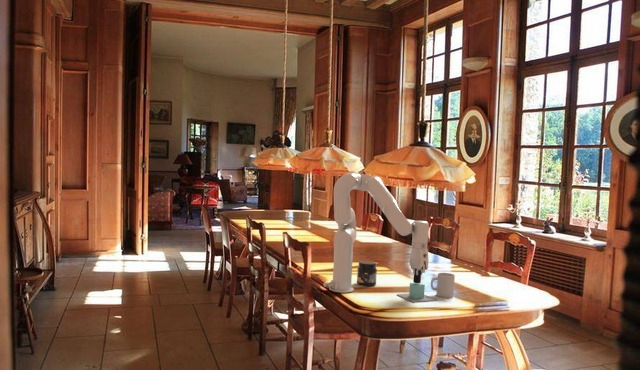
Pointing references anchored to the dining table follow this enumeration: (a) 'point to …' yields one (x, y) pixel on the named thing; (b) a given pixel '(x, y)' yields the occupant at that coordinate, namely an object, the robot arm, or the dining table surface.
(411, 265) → the robot arm
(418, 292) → the teal rectangular block
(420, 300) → the grey plate with knob
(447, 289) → the mug
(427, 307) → the dining table surface
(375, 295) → the dining table surface
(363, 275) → the supplement container
